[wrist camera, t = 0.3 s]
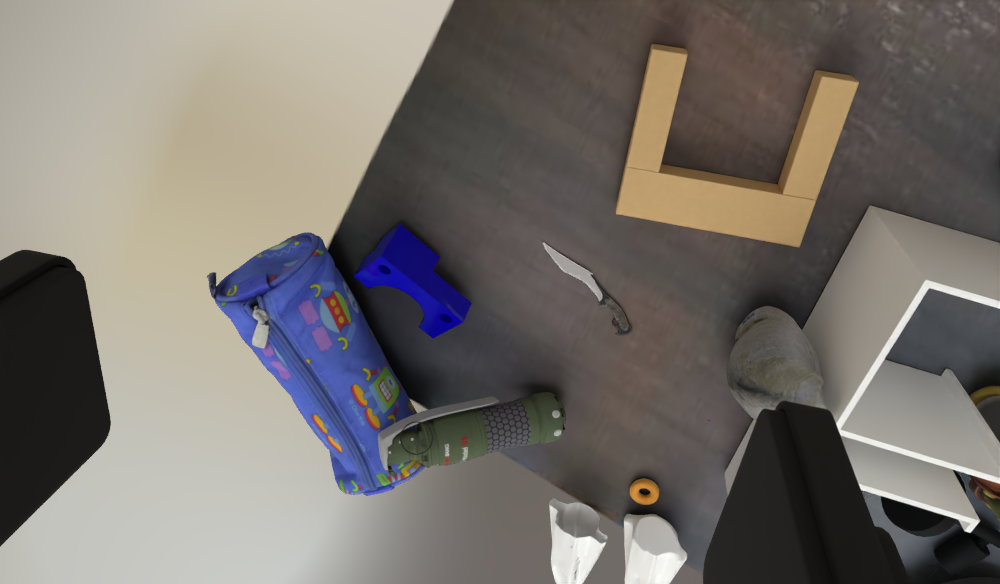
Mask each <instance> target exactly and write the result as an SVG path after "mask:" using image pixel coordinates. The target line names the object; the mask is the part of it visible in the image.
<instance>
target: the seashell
mask: <svg viewBox="0 0 1000 584" xmlns="http://www.w3.org/2000/svg"><path fill="white" fill-rule="evenodd" d="M735 341H736V343H735V345H734V347H733V349H732V351H731V354H730V357H729V360H728V364H727V380H728V385H729V388H730V390H731V392H732V394H733V396H734V397H735V399H736V400H737V401H738V402H739V404H740V405H741V406H742V407H743V408H744V409H745V411H746V412H747V413H748V414H749V415H750V416H751V417H752V418H754V419H755V420H757V418H758V416H759V413H760V412H761V411H762V409H765V408H766V409H771V410H775V408H776V406H777V405H778V404H779V403H780V402H781V401H788V402H793V403H799V404H804V405H809V406H814V407H819V408H824V409H827V410H828V408H826V404H825V400H824V395H823V387H824V384H825V383H824V379H823V378H822V377H821V370H820V365H819V362H818V359H817V355H816V351H815V350H814V348H813V347H812V345H811V343H810V341H809V339H808V338H807V336H806V335H805V333H804V332H803V331H802V330H801V328H800V327H799V326H798V324H797V323H796V322H795V320H794V319H793V318H792V317H791V316H789V315H788V314H787V313H785V312H784V311H782V310H780V309H778V308H775V307H771V306H764V307H761V308H758V309H756V310H754V311H753V312H751V313H750V314H749V315H748V316H747V317H746V318H745V319H744V321H743V322H742V323H741V324H740V325H739V327H738V329H737V331H736V335H735Z"/></svg>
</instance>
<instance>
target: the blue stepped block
mask: <svg viewBox="0 0 1000 584" xmlns="http://www.w3.org/2000/svg"><path fill="white" fill-rule="evenodd" d="M439 258H440V257H439V256H438V255H437V254H435V253H434V252H433V251H432V250H431V249H429V248H428V247H427V246H426V245H425V244H423V243H422V242H421V241H420V240H419V239H417V238H416V237H415V236H414V235H413V234H411V233H410V232H409V231H408V230H407V229H405V228H404V227H403V226H402V225H401V224H399V225H398V226H397V227H395V228H394V229H393V230H391V231H390V232H389V233H388V234H386V235H385V236H384V237H382V239H381V241H380V242H379V244H378V246H377V247H376V249H375V251H373V252H372V253H371V254H369V255H368V256H367V257H365V258H364V260H363V262H362V263H361V265H360V267H359V268H358V270H357V271H356V273H355V275H354V277H355V278H356V279H358V280H359V281H360V282H361V283H363V284H364V285H365V286H366V287H368V288H371V287H373V286H378V285H385V286H390V287H394V288H397V289H399V290H402V291H404V292H405V293H407V294H409V295H410V296H411V297H413V298H414V299H415V300H416V301H417V302H418V303H419V305H420V306H421V307H422V309H423V312H424V318H423V320H422V322H421V324H420V326H419V328H420V329H422V330H423V331H424V332H425V333H427V334H428V335H429V336H431V337H432V338H435V337H437V336H438V335H440V334H442V333H444V332H446V331H448V330H450V329H451V328H453V327H455V326H457V325H459V324H461V323H463V322H464V319H465V317H466V315H467V313H468V310H469V308H470V306H471V304H472V303H471V302H470V301H469V300H468V299H466V298H465V297H464V296H463V295H461V294H460V293H459V292H458V291H457V290H455V289H454V288H453V287H452V286H451V285H449V284H448V283H447V282H446V281H444V280H443V279H442V278H441V277H440V276H438V275H437V274H436V273H435V272H434V271H433V270H434V268H435V266H436V264H437V262H438V260H439Z"/></svg>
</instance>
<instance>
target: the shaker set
mask: <svg viewBox="0 0 1000 584" xmlns="http://www.w3.org/2000/svg"><path fill="white" fill-rule="evenodd" d="M549 507H550V519H551V532H552V553H551V566H552V571H553V575H554V578H555V581H556V584H583V582H584V581H585V579H586V577H587V576H588V574H589V572H590V570H591V569H592V567H593V565H594V563H595V562H596V560H597V558H598V557H599V555H600V553H601V551H602V549H603V547H604V546H605V544H606V542H607V540H608V538H607V536H606V535H604V534H602V533H601V532H600V531H599V529H598V528H599V522H600V516H598V514H597V513H596V512H595V511H594V510H593V509H592V508H590V507H589V506H587V505H585V504H582V503H580V502H578V503H577V502H574V503H570V504H565V503H563V502H560V501H558V500H557V499H555V498H553V499H552V500H551V501H549ZM624 543H625V545H624V546H625V566H626V574H625V584H669V583H670V582H671V581H672V579H673V578H674V576H675V575H676V573H677V572H678V571H679V569H680V567H681V566H682V565H683V563H684V562H685V561H686V560H687V553H686V552H685V551H684V550H683V549H682V548H681V546H680V544H679V542H678V538H677V532H676V531H675V529H674V528H673V527H672V525H671V524H670V523H669V522H667V521H666V520H664V519H663V518H661V517H659V516H657V515H656V514H648V515H632V514H627V515H626V516H625V517H624ZM578 558H579V559H578ZM577 559H578V560H577ZM576 560H577V562H576ZM575 565H577V566H576V567H575ZM576 570H577V572H576V574H575V576H574V573H575V571H576ZM574 578H575V579H574Z"/></svg>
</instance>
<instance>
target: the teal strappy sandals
mask: <svg viewBox="0 0 1000 584" xmlns="http://www.w3.org/2000/svg"><path fill="white" fill-rule="evenodd" d="M941 584H1000V579H998V578H992V577H976V578H963V579H959V580H954V581H949V582H944V583H941Z"/></svg>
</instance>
